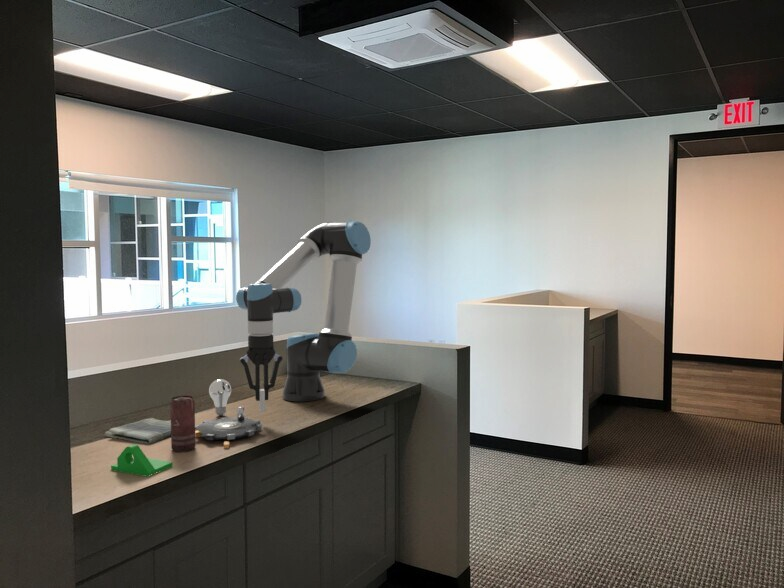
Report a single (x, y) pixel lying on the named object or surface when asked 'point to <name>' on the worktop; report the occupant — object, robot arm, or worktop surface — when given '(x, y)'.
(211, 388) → the light bulb
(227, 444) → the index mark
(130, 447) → the bracket
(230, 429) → the sprocket
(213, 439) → the sprocket base
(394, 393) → the worktop surface
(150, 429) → the dish towel
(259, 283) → the robot arm
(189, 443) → the can
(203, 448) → the worktop surface
